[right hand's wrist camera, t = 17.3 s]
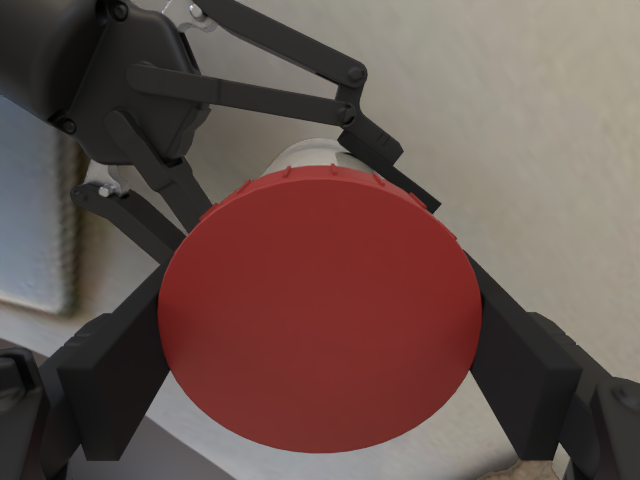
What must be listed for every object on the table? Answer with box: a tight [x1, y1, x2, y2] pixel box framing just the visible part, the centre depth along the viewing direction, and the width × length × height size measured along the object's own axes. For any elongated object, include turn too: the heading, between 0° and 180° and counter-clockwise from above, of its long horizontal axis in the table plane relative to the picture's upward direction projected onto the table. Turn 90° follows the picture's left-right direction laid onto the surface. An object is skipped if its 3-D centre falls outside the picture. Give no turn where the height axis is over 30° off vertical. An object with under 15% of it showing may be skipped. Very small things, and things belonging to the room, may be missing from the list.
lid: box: [157, 163, 482, 453], centre depth 11 cm, size 10×10×2 cm
